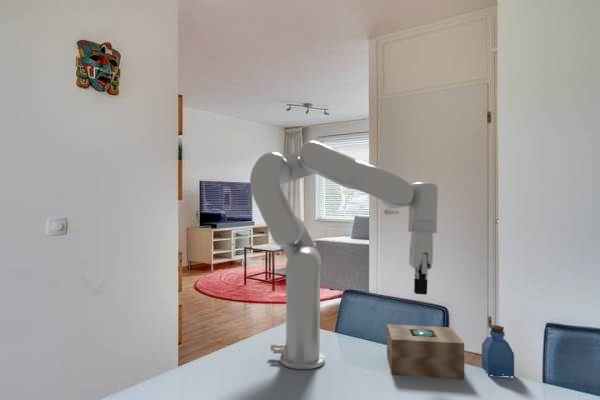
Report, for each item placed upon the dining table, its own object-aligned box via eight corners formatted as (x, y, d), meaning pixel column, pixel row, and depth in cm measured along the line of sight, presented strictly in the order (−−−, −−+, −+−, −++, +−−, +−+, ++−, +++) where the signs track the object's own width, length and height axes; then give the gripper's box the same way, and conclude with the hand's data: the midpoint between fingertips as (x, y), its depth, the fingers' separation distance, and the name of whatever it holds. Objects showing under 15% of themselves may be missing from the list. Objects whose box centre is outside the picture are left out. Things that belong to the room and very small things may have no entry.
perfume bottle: (514, 378, 99) (513, 331, 99) (488, 376, 100) (487, 329, 100) (506, 369, 105) (506, 324, 105) (481, 367, 106) (481, 322, 106)
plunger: (414, 368, 104) (414, 335, 104) (411, 361, 109) (411, 329, 109) (434, 369, 103) (434, 336, 103) (430, 362, 108) (430, 330, 108)
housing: (391, 374, 100) (391, 339, 100) (387, 355, 114) (387, 324, 114) (464, 379, 98) (464, 343, 98) (450, 358, 112) (450, 327, 112)
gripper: (405, 225, 115) (403, 287, 115) (412, 227, 100) (410, 298, 100) (431, 227, 114) (429, 289, 114) (442, 228, 99) (440, 300, 99)
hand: (420, 293), depth 107 cm, fingers closed
